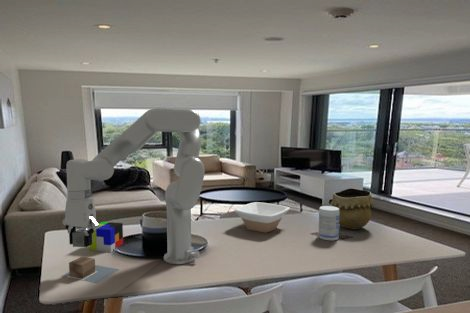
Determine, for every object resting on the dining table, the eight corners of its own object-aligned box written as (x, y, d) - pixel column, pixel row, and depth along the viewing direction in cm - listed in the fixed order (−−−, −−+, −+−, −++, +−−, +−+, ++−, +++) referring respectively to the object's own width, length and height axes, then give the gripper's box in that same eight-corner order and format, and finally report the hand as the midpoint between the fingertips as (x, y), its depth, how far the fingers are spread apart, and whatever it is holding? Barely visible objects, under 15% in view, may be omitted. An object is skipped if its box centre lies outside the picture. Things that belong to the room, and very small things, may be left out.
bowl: (230, 230, 178) (230, 209, 177) (255, 219, 198) (255, 201, 197) (270, 239, 164) (271, 217, 163) (293, 226, 184) (293, 206, 183)
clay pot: (353, 237, 167) (354, 196, 165) (321, 225, 186) (323, 189, 184) (381, 230, 177) (383, 192, 175) (349, 220, 196) (350, 185, 194)
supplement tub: (340, 241, 161) (341, 210, 159) (320, 241, 161) (321, 210, 160) (336, 234, 170) (337, 205, 169) (316, 234, 171) (317, 205, 170)
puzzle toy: (111, 252, 146) (110, 229, 145) (89, 251, 148) (89, 228, 147) (123, 244, 156) (122, 223, 155) (103, 243, 158) (102, 221, 157)
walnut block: (95, 271, 126) (94, 258, 125) (83, 278, 120) (82, 265, 120) (82, 269, 128) (81, 256, 127) (69, 276, 122) (68, 262, 122)
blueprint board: (120, 270, 128) (120, 269, 128) (97, 285, 117) (97, 283, 117) (85, 264, 134) (85, 263, 134) (60, 277, 122) (60, 276, 122)
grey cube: (93, 242, 127) (92, 228, 126) (86, 247, 122) (86, 233, 121) (79, 241, 127) (79, 228, 126) (72, 246, 122) (72, 232, 121)
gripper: (106, 194, 122) (107, 244, 124) (68, 190, 128) (70, 238, 129) (91, 198, 115) (92, 251, 117) (51, 194, 121) (53, 244, 122)
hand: (80, 244), depth 123 cm, fingers closed on grey cube, 5 cm apart
